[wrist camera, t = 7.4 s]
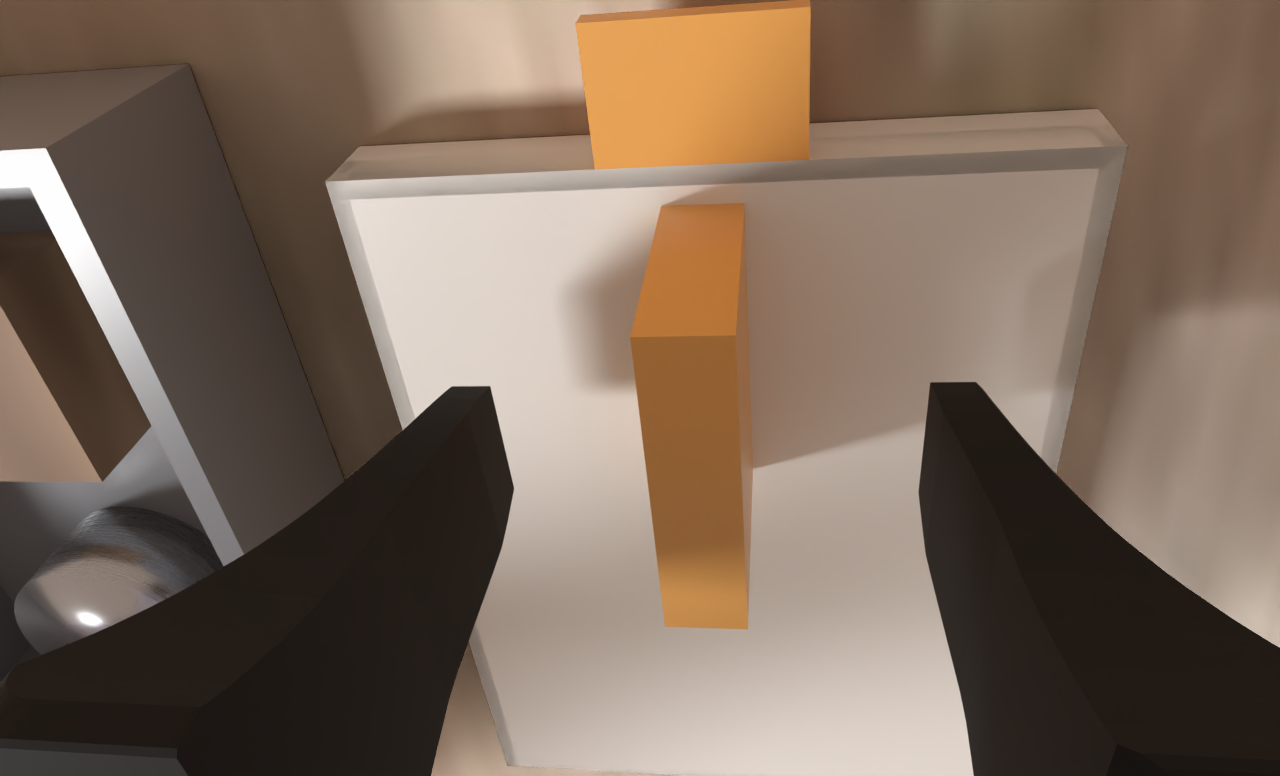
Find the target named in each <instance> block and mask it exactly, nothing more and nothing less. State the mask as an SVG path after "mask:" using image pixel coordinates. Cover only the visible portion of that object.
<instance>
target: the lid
mask: <svg viewBox="0 0 1280 776" xmlns="http://www.w3.org/2000/svg"><path fill="white" fill-rule="evenodd" d="M810 24H811V5H810V0H789V1H775V2H761V3H747V4H733V5H719V6H705V7H691V8H677V9H663V10H649V11H635V12H621V13H607V14H592V15H581V16H580V17H579V19H578V20H577V22H576V30H577V38H578V46H579V53H580V61H581V69H582V76H583V84H584V92H585V99H586V107H587V115H588V122H589V130H590V135H575V136H555V137H535V138H516V139H496V140H476V141H457V142H437V143H417V144H398V145H378V146H359V147H358V148H357V149H356V150H355V151H354V152H353V153H352V154H351V155H350V156H349V157H348V158H347V159H346V161H345V162H344V163H343V164H342V165H341V166H340V167H339V168H338V169H337V170H336V171H335V172H334V173H333V174H332V175H331V176H330V177H329V178H328V179H327V180H326V181H325V183H326V187H327V190H328V193H329V196H330V199H331V203H332V206H333V209H334V212H335V215H336V219H337V222H338V225H339V228H340V231H341V235H342V238H343V241H344V244H345V247H346V251H347V254H348V257H349V260H350V263H351V267H352V270H353V273H354V276H355V279H356V283H357V286H358V289H359V292H360V295H361V299H362V302H363V305H364V308H365V311H366V315H367V318H368V321H369V324H370V328H371V331H372V334H373V337H374V340H375V344H376V347H377V350H378V353H379V356H380V360H381V363H382V366H383V369H384V372H385V376H386V379H387V382H388V385H389V388H390V392H391V395H392V398H393V401H394V404H395V408H396V411H397V414H398V417H399V420H400V424H401V427H402V430H404V429H405V428H406V427H407V426H408V425H409V424H410V423H411V422H412V421H413V420H414V419H416V418H417V417H418V416H419V415H420V414H421V413H422V412H423V411H424V410H425V409H426V408H427V407H429V406H430V405H431V404H432V403H433V402H434V401H435V400H436V399H437V398H439V397H440V396H441V395H442V394H443V393H444V392H446V391H447V390H448V389H449V388H450V387H452V386H490V387H491V391H492V396H493V400H494V404H495V409H496V413H497V417H498V421H499V426H500V430H501V434H502V439H503V443H504V447H505V451H506V456H507V460H508V464H509V469H510V473H511V477H512V481H513V486H514V492H513V497H512V502H511V508H510V513H509V518H508V523H507V527H506V532H505V536H504V541H503V545H502V549H501V551H500V554H499V557H498V560H497V563H496V566H495V569H494V572H493V575H492V577H491V580H490V583H489V586H488V589H487V592H486V594H485V597H484V600H483V603H482V605H481V608H480V611H479V614H478V616H477V619H476V622H475V625H474V627H473V630H472V633H471V636H470V638H469V645H470V648H471V651H472V654H473V657H474V661H475V664H476V667H477V670H478V673H479V677H480V680H481V683H482V686H483V689H484V693H485V696H486V699H487V702H488V705H489V709H490V712H491V715H492V718H493V721H494V725H495V728H496V731H497V734H498V737H499V741H500V744H501V747H502V750H503V753H504V757H505V760H506V763H507V766H520V767H537V768H555V769H573V770H590V771H608V772H626V773H643V774H661V775H679V776H974V774H973V767H972V760H971V753H970V746H969V739H968V732H967V725H966V719H965V714H964V709H963V705H962V700H961V695H960V690H959V686H958V682H957V678H956V674H955V670H954V666H953V662H952V658H951V654H950V650H949V646H948V643H947V639H946V635H945V631H944V627H943V623H942V619H941V615H940V611H939V607H938V603H937V599H936V595H935V591H934V587H933V583H932V579H931V575H930V571H929V566H928V562H927V558H926V553H925V545H924V537H923V529H922V520H921V511H920V502H919V493H918V491H919V482H920V473H921V463H922V454H923V445H924V435H925V426H926V417H927V407H928V398H929V389H930V382H976V383H977V384H978V385H980V386H981V387H982V388H983V390H984V391H985V392H986V393H987V395H988V396H989V397H990V398H991V400H992V401H993V402H994V403H995V405H996V406H997V407H998V408H999V409H1000V411H1001V412H1002V413H1003V414H1004V416H1005V417H1006V418H1007V419H1008V420H1009V422H1010V423H1011V424H1012V425H1013V426H1014V428H1015V429H1016V430H1017V431H1018V432H1019V433H1020V435H1021V436H1022V437H1023V438H1024V439H1025V440H1026V442H1027V443H1028V444H1029V445H1030V446H1031V447H1032V448H1033V450H1034V451H1035V452H1036V453H1037V454H1038V455H1039V456H1040V457H1041V458H1042V459H1043V460H1044V462H1045V463H1046V464H1047V465H1048V466H1049V467H1050V468H1051V469H1052V470H1053V471H1054V472H1055V473H1056V472H1057V467H1058V463H1059V458H1060V454H1061V449H1062V445H1063V440H1064V435H1065V431H1066V426H1067V422H1068V417H1069V413H1070V408H1071V404H1072V399H1073V395H1074V390H1075V385H1076V381H1077V376H1078V372H1079V367H1080V363H1081V358H1082V354H1083V349H1084V344H1085V340H1086V335H1087V331H1088V326H1089V322H1090V317H1091V313H1092V308H1093V303H1094V299H1095V294H1096V290H1097V285H1098V281H1099V276H1100V272H1101V267H1102V263H1103V258H1104V253H1105V249H1106V244H1107V240H1108V235H1109V231H1110V226H1111V222H1112V217H1113V212H1114V208H1115V203H1116V199H1117V194H1118V190H1119V185H1120V181H1121V176H1122V171H1123V167H1124V162H1125V158H1126V153H1127V149H1128V145H1127V143H1126V142H1125V141H1124V140H1123V139H1122V137H1121V136H1120V135H1119V134H1118V133H1117V131H1116V130H1115V129H1114V128H1113V126H1112V125H1111V124H1110V123H1109V122H1108V120H1107V119H1106V118H1105V117H1104V115H1103V114H1102V113H1101V112H1100V111H1099V109H1085V110H1066V111H1046V112H1026V113H1007V114H987V115H967V116H948V117H928V118H908V119H889V120H869V121H850V122H830V123H810V124H809V113H810Z"/></svg>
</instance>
